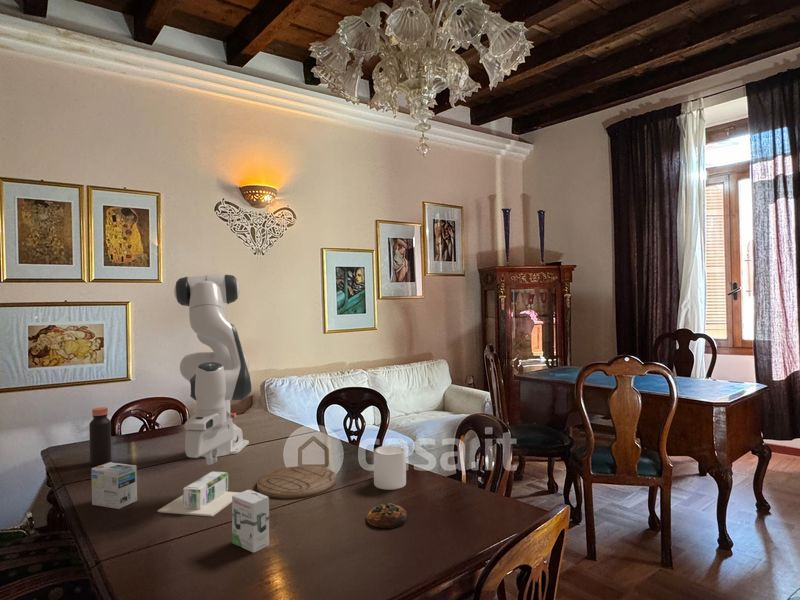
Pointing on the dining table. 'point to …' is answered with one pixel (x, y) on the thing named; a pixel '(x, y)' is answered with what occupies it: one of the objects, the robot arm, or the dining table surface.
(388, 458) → the mug
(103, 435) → the bottle
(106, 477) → the light bulb box
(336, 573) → the dining table surface
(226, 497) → the mat
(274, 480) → the trivet
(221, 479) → the syrup box
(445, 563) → the dining table surface
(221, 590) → the dining table surface
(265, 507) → the ink box
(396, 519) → the bread roll
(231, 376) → the robot arm
